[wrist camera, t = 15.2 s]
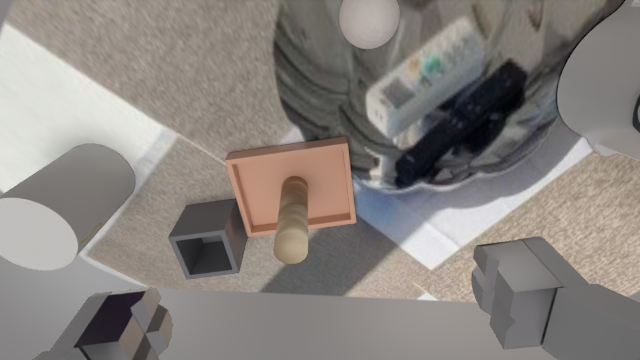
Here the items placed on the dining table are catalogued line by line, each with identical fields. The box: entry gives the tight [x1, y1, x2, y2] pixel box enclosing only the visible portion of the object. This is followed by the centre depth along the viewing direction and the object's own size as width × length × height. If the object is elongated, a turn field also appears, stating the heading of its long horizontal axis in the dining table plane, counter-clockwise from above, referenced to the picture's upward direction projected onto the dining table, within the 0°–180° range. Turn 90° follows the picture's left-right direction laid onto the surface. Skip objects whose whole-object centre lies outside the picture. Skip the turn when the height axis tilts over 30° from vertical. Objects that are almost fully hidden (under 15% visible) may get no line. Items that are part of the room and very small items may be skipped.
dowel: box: [274, 176, 308, 264], centre depth 37 cm, size 3×3×12 cm
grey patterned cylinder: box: [0, 144, 135, 270], centre depth 36 cm, size 8×8×12 cm
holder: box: [168, 199, 247, 280], centre depth 42 cm, size 6×6×7 cm
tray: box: [225, 136, 356, 237], centre depth 42 cm, size 14×11×2 cm
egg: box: [339, 0, 400, 49], centre depth 31 cm, size 5×5×8 cm
